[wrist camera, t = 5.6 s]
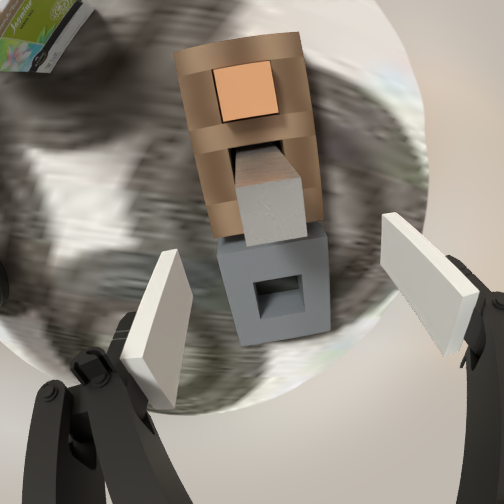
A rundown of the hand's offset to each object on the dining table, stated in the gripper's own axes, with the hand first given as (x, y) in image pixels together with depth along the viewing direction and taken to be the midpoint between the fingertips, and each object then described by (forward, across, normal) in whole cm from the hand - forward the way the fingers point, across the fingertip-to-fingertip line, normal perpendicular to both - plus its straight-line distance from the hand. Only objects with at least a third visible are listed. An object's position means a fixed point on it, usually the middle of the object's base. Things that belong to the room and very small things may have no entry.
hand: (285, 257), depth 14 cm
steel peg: (+22, 0, 0) cm, 22 cm away
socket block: (+22, 0, +4) cm, 22 cm away
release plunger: (+21, 0, +8) cm, 22 cm away
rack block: (+22, 0, -15) cm, 26 cm away
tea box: (+22, -23, +26) cm, 41 cm away
